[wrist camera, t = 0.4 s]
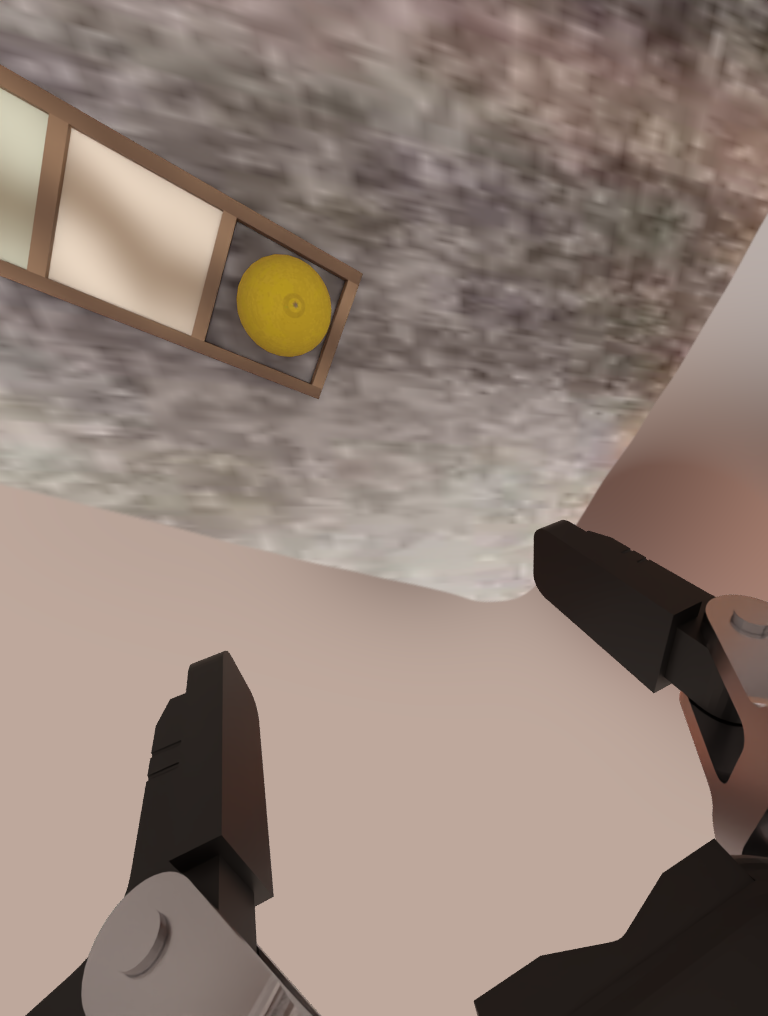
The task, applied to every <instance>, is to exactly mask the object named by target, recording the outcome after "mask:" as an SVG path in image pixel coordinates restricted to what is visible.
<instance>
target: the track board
mask: <svg viewBox="0 0 768 1016" xmlns="http://www.w3.org/2000/svg"><path fill="white" fill-rule="evenodd" d="M236 221H238V222H240V223H242V224H244V225H245V226H247V227H249V228H251V229H253V230H254V231H256V232H258V233H260V234H262V235H263V236H265V237H267V238H269V239H271V240H272V241H274V242H276V243H278V244H280V245H281V246H283V247H285V248H287V249H289V250H290V251H292V252H294V253H296V254H298V255H299V256H301V257H303V258H305V259H307V260H308V261H310V262H312V263H314V264H316V265H317V266H319V267H321V268H323V269H325V270H326V271H328V272H330V273H332V274H334V275H335V276H337V277H339V278H341V279H343V280H344V281H345V284H344V287H343V290H342V293H341V296H340V298H339V301H338V304H337V307H336V310H335V313H334V316H333V319H332V322H331V325H330V328H329V331H328V333H327V336H326V339H325V342H324V345H323V348H322V351H321V354H320V357H319V360H318V363H317V366H316V368H315V371H314V374H313V377H312V380H311V383H307V382H305V381H302V380H300V379H297V378H295V377H292V376H290V375H287V374H285V373H283V372H280V371H278V370H275V369H273V368H270V367H268V366H265V365H263V364H260V363H258V362H255V361H253V360H250V359H248V358H245V357H243V356H240V355H238V354H235V353H233V352H230V351H228V350H225V349H223V348H220V347H218V346H215V345H213V344H211V343H208V342H206V341H205V338H206V334H207V330H208V327H209V323H210V319H211V315H212V312H213V308H214V304H215V300H216V296H217V293H218V289H219V285H220V281H221V278H222V274H223V270H224V266H225V262H226V259H227V255H228V251H229V247H230V244H231V240H232V236H233V232H234V228H235V225H236ZM362 275H363V274H362V273H360V272H359V271H357V270H355V269H353V268H352V267H350V266H348V265H346V264H345V263H343V262H341V261H340V260H338V259H336V258H334V257H333V256H331V255H329V254H327V253H326V252H324V251H322V250H321V249H319V248H317V247H315V246H314V245H312V244H310V243H308V242H307V241H305V240H303V239H301V238H300V237H298V236H296V235H295V234H293V233H291V232H289V231H288V230H286V229H284V228H282V227H281V226H279V225H277V224H275V223H274V222H272V221H270V220H269V219H267V218H265V217H263V216H262V215H260V214H258V213H256V212H255V211H253V210H251V209H250V208H248V207H246V206H244V205H243V204H241V203H239V202H237V201H236V200H234V199H232V198H230V197H229V196H227V195H225V194H224V193H222V192H220V191H218V190H217V189H215V188H213V187H211V186H210V185H208V184H206V183H205V182H203V181H201V180H199V179H198V178H196V177H194V176H192V175H191V174H189V173H187V172H185V171H184V170H182V169H180V168H179V167H177V166H175V165H173V164H172V163H170V162H168V161H166V160H165V159H163V158H161V157H159V156H158V155H156V154H154V153H153V152H151V151H149V150H147V149H146V148H144V147H142V146H140V145H139V144H137V143H135V142H134V141H132V140H130V139H128V138H127V137H125V136H123V135H121V134H120V133H118V132H116V131H114V130H113V129H111V128H109V127H108V126H106V125H104V124H102V123H101V122H99V121H97V120H95V119H94V118H92V117H90V116H89V115H87V114H85V113H83V112H82V111H80V110H78V109H76V108H75V107H73V106H71V105H69V104H68V103H66V102H64V101H63V100H61V99H59V98H57V97H56V96H54V95H52V94H50V93H49V92H47V91H45V90H43V89H42V88H40V87H38V86H37V85H35V84H33V83H31V82H30V81H28V80H26V79H24V78H23V77H21V76H19V75H18V74H16V73H14V72H12V71H11V70H9V69H7V68H5V67H4V66H2V65H0V276H2V277H5V278H8V279H10V280H13V281H15V282H18V283H20V284H23V285H26V286H28V287H31V288H33V289H36V290H38V291H41V292H44V293H46V294H49V295H51V296H54V297H57V298H59V299H62V300H64V301H67V302H69V303H72V304H75V305H77V306H80V307H82V308H85V309H88V310H90V311H93V312H95V313H98V314H100V315H103V316H106V317H108V318H111V319H113V320H116V321H118V322H121V323H124V324H126V325H129V326H131V327H134V328H137V329H139V330H142V331H144V332H147V333H149V334H152V335H155V336H157V337H160V338H162V339H165V340H167V341H170V342H173V343H175V344H178V345H180V346H183V347H186V348H188V349H191V350H193V351H196V352H198V353H201V354H204V355H206V356H209V357H211V358H214V359H216V360H219V361H222V362H224V363H227V364H229V365H232V366H235V367H237V368H240V369H242V370H245V371H247V372H250V373H253V374H255V375H258V376H260V377H263V378H265V379H268V380H271V381H273V382H276V383H278V384H281V385H284V386H286V387H289V388H291V389H294V390H296V391H299V392H302V393H304V394H307V395H309V396H312V397H314V398H317V399H319V397H320V394H321V391H322V388H323V385H324V382H325V380H326V377H327V374H328V371H329V368H330V365H331V363H332V360H333V357H334V354H335V351H336V348H337V346H338V343H339V340H340V337H341V334H342V331H343V329H344V326H345V323H346V320H347V317H348V314H349V312H350V309H351V306H352V303H353V300H354V297H355V294H356V292H357V289H358V286H359V283H360V280H361V277H362Z"/></svg>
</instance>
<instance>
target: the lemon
mask: <svg viewBox="0 0 768 1016" xmlns="http://www.w3.org/2000/svg"><path fill="white" fill-rule="evenodd" d="M237 309H238V314H239V317H240V320H241V323H242V325H243V327H244V329H245V330H246V332H247V334H248V335H249V336H250V337H251V338H252V340H253V341H254V342H255V343H256V344H257V345H259V346H260V347H262V348H263V349H265V350H266V351H268V352H270V353H273V354H276V355H279V356H288V357H293V356H298V355H302V354H305V353H307V352H309V351H311V350H312V349H314V348H315V347H316V346H317V345H318V344H319V343H320V342H321V341H322V339H323V338H324V336H325V335H326V333H327V330H328V328H329V325H330V320H331V311H332V310H331V301H330V296H329V293H328V291H327V288H326V286H325V284H324V282H323V281H322V279H321V277H320V276H319V274H318V273H317V272H316V271H315V270H314V269H313V268H312V267H311V266H310V265H308V264H307V263H305V262H303V261H302V260H300V259H298V258H295V257H292V256H289V255H279V254H273V255H270V256H266V257H262V258H261V259H259V260H258V261H256V262H254V263H253V264H252V265H251V266H250V267H249V268H248V269H247V270H246V272H245V273H244V274H243V276H242V279H241V281H240V283H239V285H238V292H237Z"/></svg>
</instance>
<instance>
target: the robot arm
mask: <svg viewBox="0 0 768 1016" xmlns="http://www.w3.org/2000/svg"><path fill="white" fill-rule="evenodd" d="M533 574H534V580H535V583H536V586H537V588H538V589H539V591H540V592H541V593H542V595H543V596H544V597H545V598H546V599H547V600H548V601H550V602H551V603H552V604H553V605H554V606H555V607H556V608H558V609H559V610H560V611H561V612H562V613H563V614H564V615H566V616H567V617H568V618H569V619H570V620H571V621H572V622H573V623H575V624H576V625H577V626H578V627H579V628H580V629H581V630H583V631H584V632H585V633H586V634H587V635H588V636H589V637H591V638H592V639H593V640H594V641H595V642H596V643H597V644H598V645H600V646H601V647H602V648H603V649H604V650H605V651H607V652H608V653H609V654H610V655H611V656H612V657H613V658H614V659H616V660H617V661H618V662H619V663H620V664H621V665H622V666H624V667H625V668H626V669H627V670H628V671H629V672H630V673H631V674H633V675H634V676H635V677H636V678H637V679H638V680H639V681H640V682H642V683H643V684H644V685H645V686H646V687H647V688H648V689H650V690H651V691H652V692H653V693H655V692H657V691H659V690H661V689H663V688H664V687H666V686H668V685H670V684H673V685H674V686H676V687H677V688H678V689H679V690H680V694H679V700H680V704H681V707H682V710H683V712H684V716H685V718H686V721H687V724H688V727H689V730H690V733H691V736H692V738H693V741H694V744H695V747H696V750H697V753H698V756H699V759H700V762H701V764H702V767H703V770H704V773H705V776H706V779H707V782H708V785H709V788H710V791H711V796H712V804H713V812H712V816H713V827H714V833H715V838H716V840H715V839H713V840H711V841H710V842H708V843H707V844H705V845H704V846H702V847H701V848H699V849H698V850H696V851H695V852H693V853H692V854H690V855H689V856H688V857H686V858H684V859H683V860H682V861H680V862H678V863H677V864H676V865H674V866H673V867H671V868H670V869H668V870H667V871H665V872H664V873H662V875H661V876H660V878H659V880H658V881H657V883H656V885H655V886H654V888H653V890H652V891H651V893H650V894H649V896H648V898H647V899H646V901H645V903H644V904H643V906H642V908H641V909H640V911H639V912H638V914H637V916H636V917H635V919H634V921H633V922H632V924H631V925H630V927H629V928H628V930H627V932H626V933H625V934H624V936H623V937H622V938H620V939H619V940H617V941H614V942H609V943H604V944H599V945H594V946H589V947H583V948H578V949H573V950H568V951H563V952H558V953H552V954H547V955H542V956H540V957H538V958H537V959H535V960H534V961H532V962H531V963H529V964H528V965H526V966H525V967H523V968H522V969H520V970H519V971H517V972H516V973H514V974H513V975H511V976H510V977H508V978H507V979H506V980H504V981H503V982H501V983H500V984H498V985H497V986H495V987H494V988H492V989H491V990H489V991H488V992H486V993H485V994H483V995H482V996H480V997H479V998H477V999H476V1000H474V1004H475V1008H476V1011H477V1015H478V1016H768V602H766V601H763V600H760V599H757V598H753V597H748V596H742V595H722V596H719V597H714V596H713V595H711V594H709V593H707V592H705V591H704V590H702V589H700V588H698V587H696V586H695V585H693V584H691V583H690V582H688V581H686V580H684V579H683V578H681V577H679V576H677V575H676V574H674V573H672V572H670V571H669V570H667V569H665V568H663V567H662V566H660V565H658V564H657V563H655V562H653V561H651V560H647V559H646V557H644V556H643V555H641V554H639V553H637V552H636V551H631V550H630V548H628V547H627V546H625V545H623V544H622V543H620V542H618V541H616V540H615V539H613V538H611V537H608V536H604V535H601V534H598V533H594V532H591V531H587V532H586V531H584V530H583V529H581V528H579V527H577V526H576V525H574V524H572V523H571V522H569V521H566V520H561V521H558V522H556V523H553V524H551V525H548V526H546V527H543V528H540V529H538V530H537V531H536V532H535V534H534V570H533ZM151 753H152V758H151V759H150V764H149V770H148V781H147V782H146V787H145V793H144V799H143V805H142V811H141V817H140V823H139V828H138V834H137V840H136V846H135V852H134V858H133V864H132V870H131V875H130V880H129V884H128V888H127V891H126V894H125V897H124V898H123V899H122V901H121V902H120V903H119V904H118V905H117V906H116V907H115V909H114V910H113V911H112V913H111V914H110V915H109V917H108V918H107V920H106V922H105V923H104V925H103V926H102V928H101V930H100V932H99V934H98V935H97V937H96V940H95V941H94V944H93V946H92V948H91V951H90V953H89V956H88V958H87V959H86V960H85V961H84V962H83V963H82V964H81V966H79V968H77V969H76V970H75V971H74V972H73V973H72V974H71V975H70V976H69V977H68V978H67V979H66V980H65V981H63V982H62V983H61V984H60V985H59V986H58V987H57V988H56V989H55V990H53V992H51V993H50V994H49V995H48V996H47V997H46V998H45V999H43V1000H42V1001H41V1002H40V1003H39V1004H38V1005H37V1006H36V1007H34V1008H33V1009H32V1010H31V1011H30V1012H29V1013H28V1014H27V1015H26V1016H321V1015H320V1014H319V1013H318V1012H317V1010H316V1009H315V1008H314V1007H313V1006H312V1005H311V1004H310V1003H309V1001H308V1000H307V999H306V998H305V997H304V996H303V995H302V994H301V992H299V990H298V989H297V988H296V987H295V986H294V985H293V984H292V982H291V981H290V980H289V979H288V978H287V977H286V976H285V975H284V973H283V972H282V971H281V970H280V969H279V968H278V967H277V966H276V964H275V963H274V962H273V961H272V960H271V959H270V958H269V957H268V956H267V954H266V953H265V952H264V951H263V950H262V949H261V948H260V946H259V945H258V944H257V943H256V924H255V906H257V905H259V904H261V903H262V902H264V901H266V900H268V899H270V898H272V897H273V885H272V871H271V861H270V860H271V859H270V848H269V836H268V823H267V811H266V799H265V787H264V775H263V763H262V751H261V739H260V727H259V717H258V712H257V708H256V704H255V701H254V698H253V696H252V693H251V691H250V689H249V688H248V686H247V684H246V682H245V680H244V678H243V677H242V675H241V673H240V671H239V669H238V667H237V666H236V664H235V662H234V660H233V658H232V657H231V655H230V653H228V651H224V652H221V653H218V654H216V655H213V656H211V657H208V658H206V659H203V660H201V661H198V662H196V663H193V664H191V665H190V667H189V670H188V680H187V688H186V693H185V694H183V695H180V696H177V697H175V698H172V699H170V701H169V703H168V705H167V706H166V708H165V710H164V712H163V714H162V716H161V717H160V719H159V721H158V723H157V725H156V728H155V735H154V740H153V746H152V752H151Z"/></svg>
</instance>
